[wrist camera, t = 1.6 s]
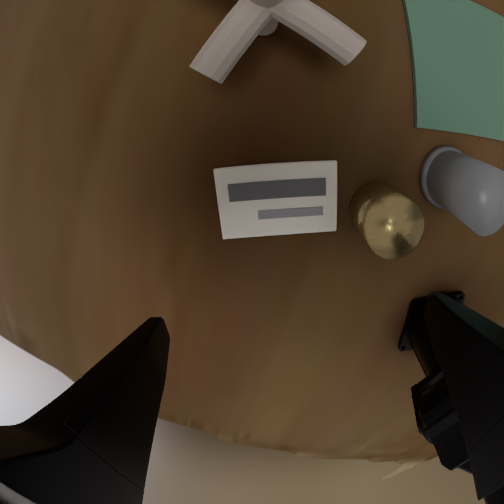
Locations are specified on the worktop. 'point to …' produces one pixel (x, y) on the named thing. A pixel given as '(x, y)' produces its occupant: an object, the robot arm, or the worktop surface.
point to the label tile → (277, 198)
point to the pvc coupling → (464, 188)
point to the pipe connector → (264, 23)
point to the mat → (457, 66)
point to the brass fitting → (386, 219)
